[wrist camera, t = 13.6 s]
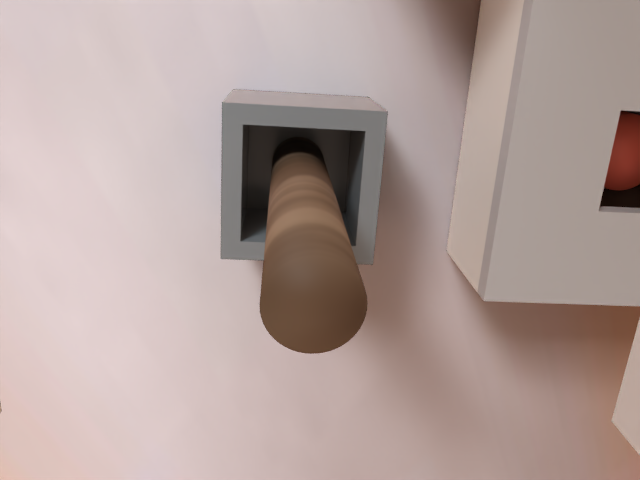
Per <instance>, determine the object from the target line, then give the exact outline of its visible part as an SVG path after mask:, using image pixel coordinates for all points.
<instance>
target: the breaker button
mask: <svg viewBox="0 0 640 480" xmlns="http://www.w3.org/2000/svg"><path fill="white" fill-rule="evenodd" d="M639 184H640V115H637V114H633V113H628V112H624V111H621V112H620V116H619V121H618V125H617V130H616V134H615V139H614V143H613V148H612V153H611V157H610V162H609V166H608V171H607V175H606V180H605V184H604V187H605V188H607V189H611V190H626V189H630V188H633V187H635V186H637V185H639Z"/></svg>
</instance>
